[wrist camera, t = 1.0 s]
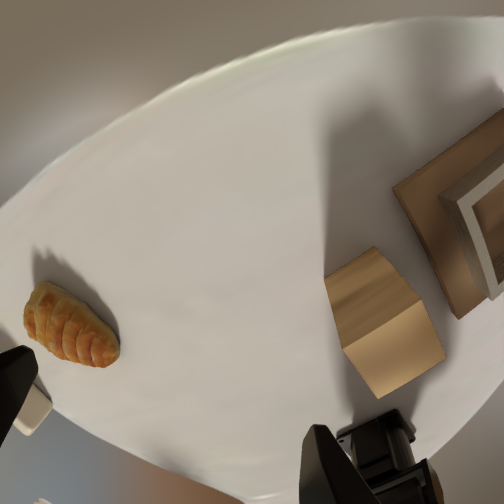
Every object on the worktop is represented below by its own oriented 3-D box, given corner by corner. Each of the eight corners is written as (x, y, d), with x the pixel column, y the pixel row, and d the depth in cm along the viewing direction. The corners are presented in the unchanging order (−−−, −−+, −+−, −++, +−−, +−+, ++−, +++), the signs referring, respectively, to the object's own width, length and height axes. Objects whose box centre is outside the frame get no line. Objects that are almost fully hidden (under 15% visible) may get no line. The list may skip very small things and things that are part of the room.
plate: (546, 229, 17) (554, 233, 15) (452, 312, 20) (458, 319, 18) (503, 107, 15) (512, 106, 13) (392, 188, 18) (398, 190, 17)
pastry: (128, 316, 23) (105, 341, 19) (121, 372, 25) (103, 398, 22) (43, 272, 23) (16, 289, 19) (44, 329, 25) (22, 348, 21)
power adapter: (-8, 353, 28) (-33, 375, 23) (-3, 337, 27) (-32, 360, 21) (48, 413, 30) (26, 440, 24) (57, 402, 28) (33, 432, 23)
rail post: (399, 291, 20) (446, 357, 12) (352, 321, 21) (377, 399, 13) (374, 245, 19) (421, 299, 11) (323, 279, 20) (342, 349, 12)
